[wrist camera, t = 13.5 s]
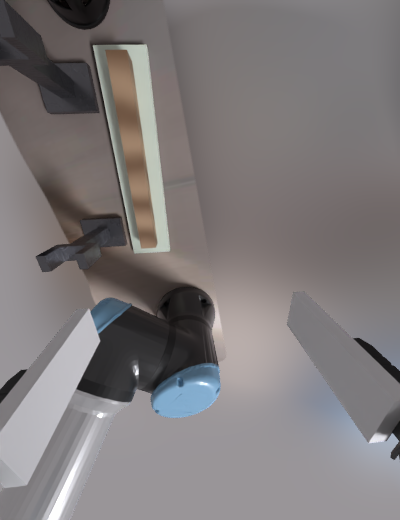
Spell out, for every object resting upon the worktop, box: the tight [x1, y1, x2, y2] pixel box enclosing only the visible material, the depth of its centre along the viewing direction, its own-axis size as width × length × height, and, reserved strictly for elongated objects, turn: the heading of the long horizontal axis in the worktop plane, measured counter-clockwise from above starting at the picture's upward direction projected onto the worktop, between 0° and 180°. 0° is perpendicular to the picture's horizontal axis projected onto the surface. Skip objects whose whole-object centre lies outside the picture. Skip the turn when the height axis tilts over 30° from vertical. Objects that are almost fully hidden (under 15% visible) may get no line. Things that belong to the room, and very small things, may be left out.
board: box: [93, 45, 170, 254], centre depth 36 cm, size 34×8×1 cm, turn 2°
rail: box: [105, 50, 158, 249], centre depth 34 cm, size 30×3×3 cm, turn 2°
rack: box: [0, 0, 127, 272], centre depth 29 cm, size 30×8×16 cm, turn 2°
